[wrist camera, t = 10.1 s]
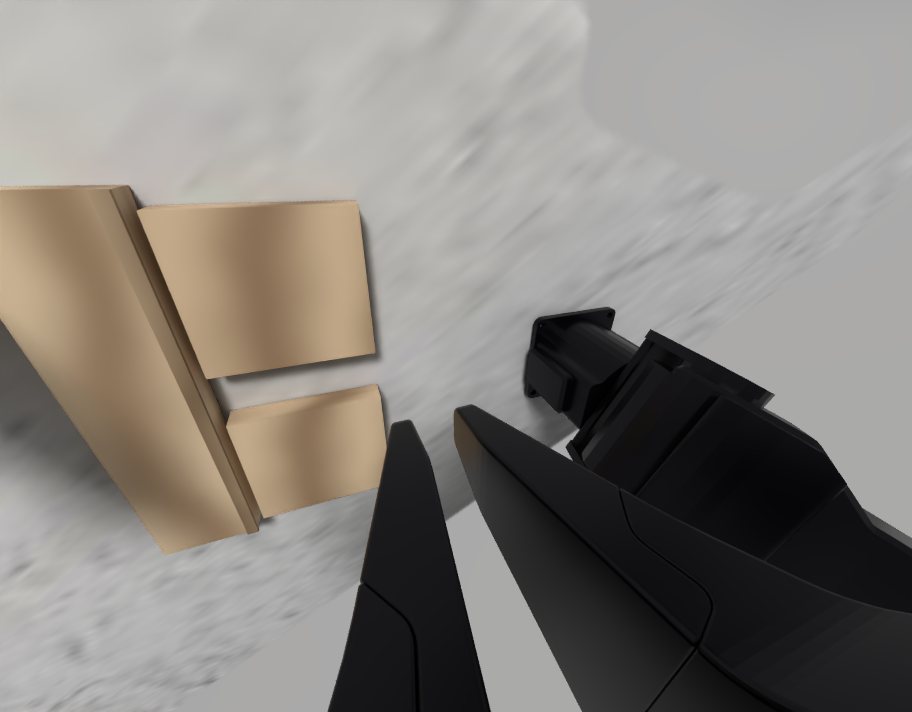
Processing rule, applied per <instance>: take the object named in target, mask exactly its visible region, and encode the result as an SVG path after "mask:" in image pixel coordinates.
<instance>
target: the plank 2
mask: <svg viewBox="0 0 912 712" xmlns="http://www.w3.org/2000/svg"><path fill="white" fill-rule="evenodd" d="M226 428H227V431H228V433H229V435H230V438H231V440H232V443H233V445H234V448H235V450H236V452H237V455H238V457H239V460H240V462H241V464H242V467H243V469H244V472H245V474H246V477H247V479H248V481H249V484H250V486H251V489H252V491H253V493H254V496H255V498H256V501H257V503H258V505H259V508H260V510H261V513H262V515H263V518H267V517H271V516H274V515H278V514H282V513H285V512H289V511H293V510H296V509H300V508H304V507H307V506H311V505H315V504H318V503H322V502H326V501H329V500H333V499H337V498H340V497H344V496H348V495H351V494H355V493H359V492H362V491H366V490H370V489H374V488H377V487H379V484H380V479H381V474H382V469H383V464H384V459H385V454H386V449H387V447H386V438H385V430H384V421H383V413H382V404H381V396H380V393H379V390H378V386H377V384H374V385H369V386H364V387H358V388H353V389H347V390H342V391H336V392H331V393H325V394H320V395H315V396H309V397H304V398H298V399H293V400H287V401H282V402H277V403H271V404H266V405H260V406H255V407H249V408H244V409H239V410H233V411H231V412H230V415H229V419H228V422H227V426H226Z"/></svg>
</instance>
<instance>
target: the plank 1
mask: <svg viewBox="0 0 912 712" xmlns="http://www.w3.org/2000/svg"><path fill="white" fill-rule="evenodd" d="M137 213H138V216H139V218H140V221H141V223H142V225H143V228H144V230H145V233H146V235H147V238H148V240H149V242H150V245H151V247H152V250H153V252H154V254H155V257H156V259H157V262H158V264H159V267H160V269H161V271H162V274H163V276H164V279H165V281H166V283H167V286H168V288H169V291H170V293H171V295H172V298H173V300H174V303H175V305H176V308H177V310H178V312H179V315H180V317H181V320H182V322H183V324H184V327H185V329H186V332H187V334H188V337H189V339H190V341H191V344H192V346H193V349H194V351H195V353H196V356H197V358H198V361H199V363H200V365H201V368H202V370H203V373H204V375H205V378H206V379H211V378H217V377H224V376H230V375H237V374H243V373H250V372H256V371H263V370H269V369H275V368H282V367H288V366H295V365H301V364H308V363H314V362H320V361H327V360H333V359H340V358H346V357H353V356H359V355H365V354H372V353H376V352H375V344H374V335H373V327H372V318H371V310H370V301H369V293H368V284H367V276H366V267H365V259H364V250H363V241H362V233H361V224H360V216H359V207H358V203H357V202H356V201H355V200H342V201H305V202H268V203H230V204H193V205H156V206H148V207H145V208H142V209H140V210H137Z"/></svg>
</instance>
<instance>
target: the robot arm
mask: <svg viewBox="0 0 912 712" xmlns="http://www.w3.org/2000/svg"><path fill="white" fill-rule="evenodd" d="M607 314H608V315H607ZM614 317H615V310H614V309H612V308H610V307H603V308H597V309H590V310H583V311H577V312H570V313H563V314H557V315H550V316H543V317H539V318H538V319H536V321H535V322H534V326H533V334H532V341H531V348H530V351H529V357H528V364H527V372H526V385H525V394H526V395H527V396H528V397H529V398H534V397H539V396H542V397H543V398H544V399H545V400H546V401H547V402H548V403H549V404H550V405H551V406H552V408H553V409H554V410H555V411H557V412H558V413H562V412H563V413H564V414H565V415H566V416H567V417H568V418H569V419H570V420H571V421H572V422H573V423H574V424H575V425H576V427H577V428H578V429H579V432H578V433H577V434H576V436H575V437H574V439H573V440H570V442H569V443H568V444H567V446H566V449H567V451H568V453H569V455H570V456H571V458H572V460H573V461H572V460H570V459H568V458H567V457H565V456H563V455H561V454H560V453H558V452H556V451H554V450H552V449H551V448H549V447H547V446H545V445H544V444H542V443H540V442H538V441H537V440H535V439H533V438H531V437H530V436H528V435H526V434H524V433H522V432H521V431H519V430H517V429H515V428H514V427H512V426H510V425H508V424H507V423H505V422H503V421H501V420H500V419H498V418H496V417H494V416H493V415H491V414H489V413H487V412H485V411H484V410H482V409H480V408H478V407H477V406H475V405H472V404H471V405H466V406H462V407H458V408H456V409H455V410H454V440H455V444H456V448H457V450H458V453H459V456H460V458H461V461H462V464H463V467H464V469H465V472H466V475H467V477H468V480H469V483H470V485H471V488H472V491H473V493H474V496H475V499H476V501H477V504H478V506H479V509H480V511H481V513H482V515H483V517H484V519H485V521H486V523H487V525H488V527H489V529H490V531H491V533H492V535H493V537H494V539H495V541H496V543H497V545H498V547H499V549H500V551H501V553H502V555H503V557H504V559H505V561H506V563H507V565H508V567H509V569H510V571H511V573H512V574H513V577H514V578H515V580H516V582H517V584H518V586H519V588H520V590H521V592H522V594H523V596H524V598H525V600H526V602H527V604H528V606H529V608H530V610H531V612H532V614H533V616H534V618H535V620H536V622H537V624H538V626H539V628H540V630H541V631H542V634H543V636H544V638H545V640H546V642H547V643H548V645H549V647H550V649H551V651H552V653H553V655H554V657H555V659H556V661H557V663H558V665H559V667H560V669H561V671H562V673H563V675H564V677H565V679H566V681H567V683H568V685H569V687H570V689H571V691H572V693H573V695H574V697H575V699H576V701H577V703H578V705H579V706H580V708H581V710H582V712H912V538H911V537H909V536H907V535H905V534H904V533H902V532H901V531H899V530H897V529H896V528H894V527H892V526H891V525H889V524H888V523H886V522H884V521H883V520H881V519H879V518H878V517H876V516H875V515H873V514H871V513H870V512H868V511H866V510H865V509H863V508H862V507H861V505H860V504H859V503H858V501H857V500H856V498H855V496H854V495H853V493H852V492H851V490H850V489H849V488H848V486H847V483H846V482H845V480H844V479H843V477H842V476H841V475H840V473H839V472H838V471H837V469H836V468H835V466H834V464H833V463H832V461H831V460H830V459H829V457H828V456H827V454H826V452H825V451H824V449H823V448H822V446H821V445H820V444H819V443H818V442H817V441H816V440H815V439H813V438H812V437H810V436H809V435H807V434H806V433H805V432H803V431H802V430H800V429H799V428H797V427H796V426H795V425H793V424H792V423H790V422H788V421H787V420H785V419H783V418H781V417H779V416H778V415H776V414H774V413H772V412H770V411H768V410H767V409H765V408H764V406H765V405H766V404H767V403H768V402H769V401H770V400H771V399H772V398H773V397H774V394H773V393H771V392H769V391H767V390H766V389H764V388H762V387H760V386H758V385H756V384H754V383H753V382H751V381H749V380H747V379H745V378H743V377H742V376H740V375H738V374H736V373H734V372H732V371H730V370H728V369H726V368H725V367H723V366H721V365H719V364H717V363H715V362H713V361H711V360H709V359H707V358H706V357H704V356H702V355H700V354H698V353H696V352H694V351H692V350H690V349H688V348H686V347H684V346H682V345H680V344H678V343H676V342H674V341H672V340H671V339H669V338H667V337H665V336H663V335H661V334H659V333H657V332H655V331H653V330H651V329H650V331H649V332H648V333H647V335H646V336H645V338H646V339H645V340H644V342H643V343H642V345H641V346H640V347H638V346H637V345H635V344H633V343H632V342H630V341H628V340H627V339H625V338H623V337H622V336H620V335H618V334H616V333H615V332H613V331H611V328H612V324H613V321H614ZM542 323H543V325H542V326H541V327H540V325H541V324H542ZM532 390H533V391H532ZM531 391H532V392H531ZM360 582H361V584H360V585H359V587H358V592H357V597H356V602H355V607H354V611H353V616H352V621H351V625H350V629H349V633H348V638H347V642H346V646H345V651H344V655H343V659H342V663H341V666H340V670H339V673H338V677H337V680H336V684H335V687H334V691H333V695H332V698H331V701H330V705H329V708H328V712H491V710H490V706H489V702H488V698H487V694H486V689H485V685H484V681H483V677H482V673H481V669H480V664H479V660H478V656H477V652H476V648H475V644H474V640H473V635H472V631H471V627H470V623H469V619H468V614H467V611H466V606H465V602H464V598H463V594H462V589H461V585H460V581H459V577H458V573H457V569H456V564H455V560H454V556H453V552H452V548H451V544H450V539H449V535H448V531H447V527H446V523H445V519H444V514H443V510H442V506H441V502H440V498H439V494H438V489H437V485H436V481H435V477H434V473H433V469H432V465H431V462H430V459H429V456H428V454H427V452H426V450H425V448H424V445H423V443H422V441H421V439H420V437H419V435H418V433H417V431H416V429H415V427H414V424H413V422H412V421H411V420H409V419H408V420H404V421H399V422H395V423H393V424H392V425H391V429H390V434H389V439H388V444H387V449H386V454H385V459H384V464H383V469H382V474H381V479H380V484H379V489H378V494H377V499H376V504H375V509H374V514H373V519H372V524H371V529H370V533H369V538H368V543H367V548H366V553H365V558H364V563H363V568H362V573H361V578H360Z"/></svg>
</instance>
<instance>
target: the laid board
mask: <svg viewBox="0 0 912 712" xmlns="http://www.w3.org/2000/svg"><path fill="white" fill-rule="evenodd" d="M137 210H138V208H137V205H136V203H135V200H134V198H133V196H132V193H131V191H130V188H129V186H128V185H91V186H12V187H0V319H1V321H2V322H3V323H4V325H5V326H6V328H7V329H8V331H9V332H10V333H11V335H12V336H13V338H14V339H15V341H16V342H17V344H18V345H19V346H20V348H21V349H22V351H23V352H24V354H25V355H26V356H27V358H28V359H29V361H30V362H31V364H32V365H33V367H34V368H35V369H36V371H37V372H38V374H39V375H40V377H41V378H42V379H43V381H44V382H45V384H46V385H47V387H48V388H49V389H50V391H51V392H52V394H53V395H54V397H55V398H56V400H57V401H58V402H59V404H60V405H61V407H62V408H63V410H64V411H65V412H66V414H67V415H68V417H69V418H70V420H71V421H72V423H73V424H74V425H75V427H76V428H77V430H78V431H79V433H80V434H81V435H82V437H83V438H84V440H85V441H86V443H87V444H88V445H89V447H90V448H91V450H92V451H93V453H94V454H95V456H96V457H97V458H98V460H99V461H100V463H101V464H102V466H103V467H104V468H105V470H106V471H107V473H108V474H109V476H110V477H111V479H112V480H113V481H114V483H115V484H116V486H117V487H118V489H119V490H120V491H121V493H122V494H123V496H124V497H125V499H126V500H127V501H128V503H129V504H130V506H131V507H132V509H133V510H134V512H135V513H136V514H137V516H138V517H139V519H140V520H141V522H142V523H143V524H144V526H145V527H146V529H147V530H148V532H149V533H150V534H151V536H152V537H153V539H154V540H155V542H156V543H157V545H158V546H159V547H160V549H161V550H162V552H163V553H164V555H167V554H171V553H175V552H178V551H182V550H185V549H189V548H192V547H196V546H199V545H203V544H206V543H210V542H214V541H217V540H221V539H224V538H228V537H231V536H235V535H238V534H242V533H245V532H247V533H248V534H251V533H255V532H258V531H259V525H260V516H261V510H260V508H259V505H258V503H257V501H256V498H255V496H254V493H253V491H252V489H251V486H250V484H249V481H248V479H247V477H246V474H245V472H244V469H243V467H242V464H241V462H240V460H239V457H238V455H237V452H236V450H235V448H234V445H233V443H232V440H231V438H230V435H229V433H228V431H227V428H226V426H227V424H226V422H225V419H224V417H223V414H222V412H221V410H220V407H219V405H218V402H217V400H216V397H215V395H214V393H213V390H212V388H211V385H210V383H209V380H208V379H206V378H205V375H204V373H203V370H202V368H201V365H200V363H199V361H198V358H197V356H196V353H195V351H194V349H193V346H192V344H191V341H190V339H189V337H188V334H187V332H186V329H185V327H184V324H183V322H182V320H181V317H180V315H179V312H178V310H177V308H176V305H175V303H174V300H173V298H172V295H171V293H170V291H169V288H168V286H167V283H166V281H165V279H164V276H163V274H162V271H161V269H160V267H159V264H158V262H157V259H156V257H155V254H154V252H153V250H152V247H151V245H150V242H149V240H148V238H147V235H146V233H145V230H144V228H143V225H142V223H141V221H140V218H139V216H138V213H137Z"/></svg>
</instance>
